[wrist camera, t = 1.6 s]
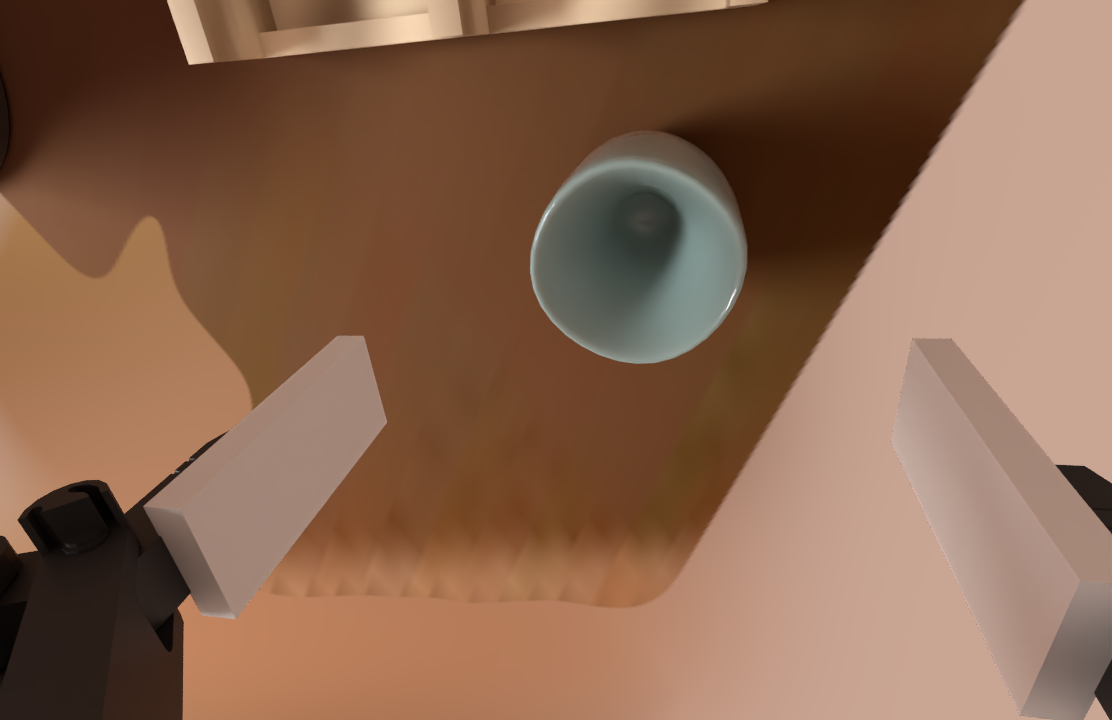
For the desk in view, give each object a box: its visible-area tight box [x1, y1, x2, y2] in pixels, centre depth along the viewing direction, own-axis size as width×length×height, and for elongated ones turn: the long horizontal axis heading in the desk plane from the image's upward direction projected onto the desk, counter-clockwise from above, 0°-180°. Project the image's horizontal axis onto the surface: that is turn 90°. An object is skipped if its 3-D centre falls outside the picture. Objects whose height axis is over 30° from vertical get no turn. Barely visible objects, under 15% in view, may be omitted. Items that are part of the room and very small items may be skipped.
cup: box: [530, 130, 747, 364], centre depth 26 cm, size 8×8×10 cm
